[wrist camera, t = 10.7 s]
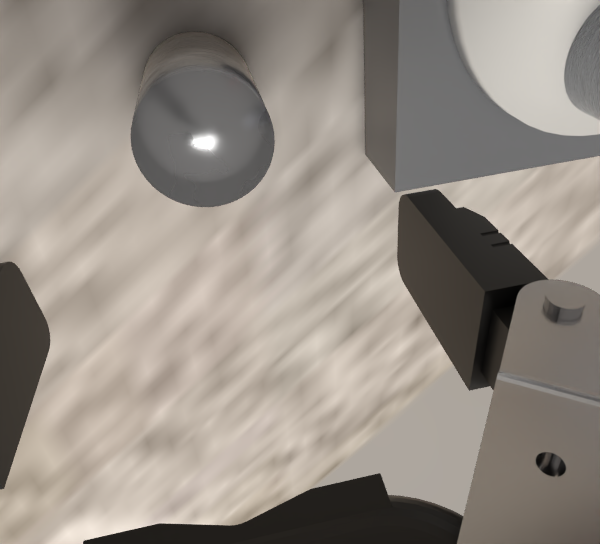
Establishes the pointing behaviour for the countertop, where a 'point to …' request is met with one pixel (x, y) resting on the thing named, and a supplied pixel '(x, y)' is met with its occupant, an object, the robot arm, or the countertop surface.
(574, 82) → the cylinder
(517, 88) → the scale
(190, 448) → the countertop surface
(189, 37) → the cylinder
